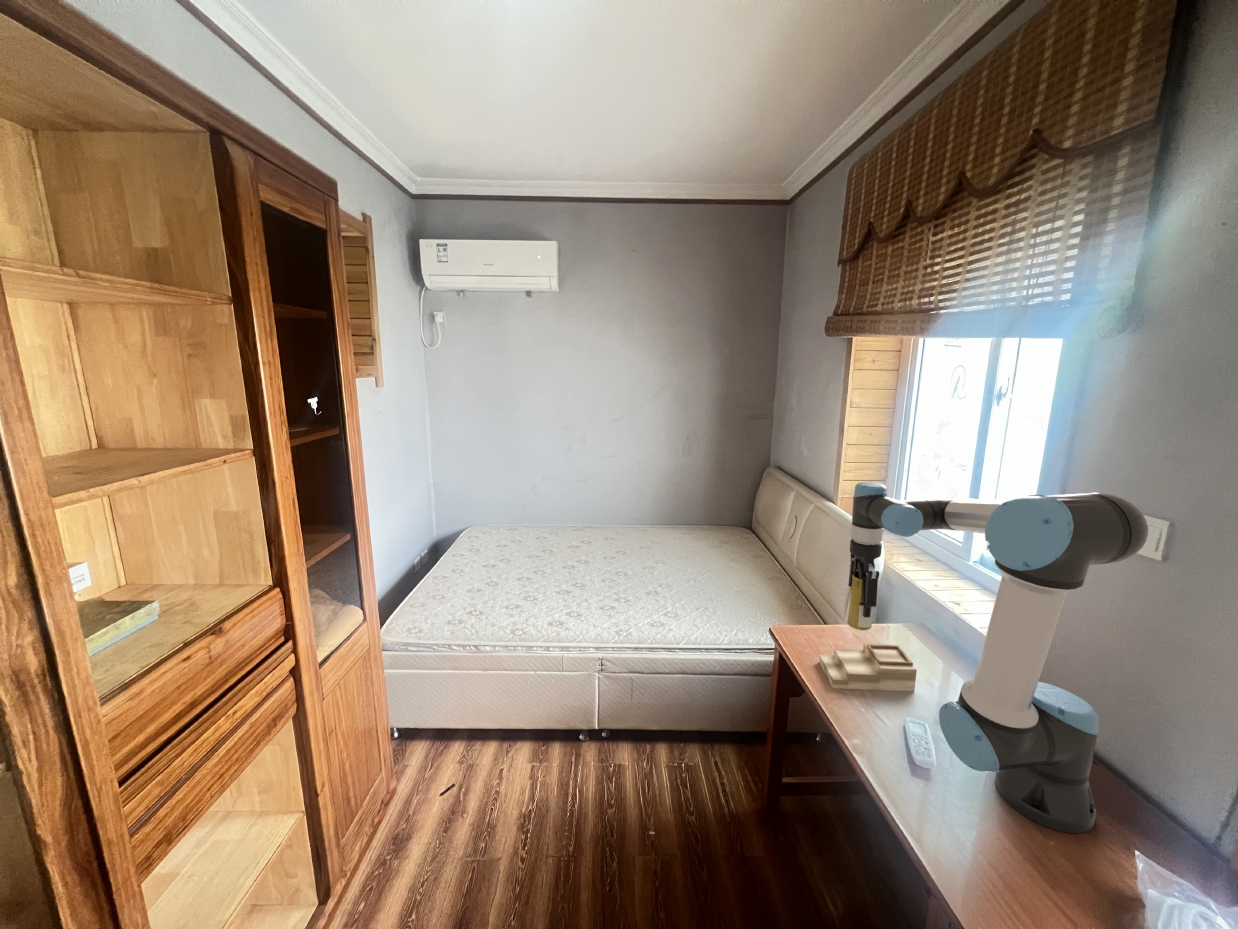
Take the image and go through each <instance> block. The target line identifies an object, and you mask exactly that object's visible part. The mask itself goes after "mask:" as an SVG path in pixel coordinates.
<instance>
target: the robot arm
mask: <svg viewBox="0 0 1238 929" xmlns="http://www.w3.org/2000/svg"><path fill="white" fill-rule="evenodd" d="M887 491H888V489H887V486H886V485H885V484H883V483H880V482H874V481H862V482H858V483H857V484H855V487H854V492H853V494H854V495H853V497H852V499H853V500H852V515H851V516H852V517H851V520H852V521H851V524H850V525H851V526H850V538H851V539H850V540H849V553H850V564H849V565H850V566H849V575H848V584H847V585H848V587H850V589H851V588H852V576H853V574H854V573H856V577H857V578H859V579H861V580H862V585H861V591H862V603H859V605H860V611H859V623H858V626H859V627H870V620H871V609H872V610H873V608H876V607H877V602H878V601H877V598H878V584H879V577H880V571H879V570H876V567H875V566H876V565H875V560H876V559H878V558H880V557H881V555H882V547H883V546H882V545H883V543H882V541H883V534H884V532H885V530H886V531H888V532H889V533H890V534H894V535H897V536H900V537H903V538H909V537H912V536H914V535H915V534H918V533H919V532H920V531H928V530H929V531H930V530H948V531H956V532H957V531H959V532H968V533H977V534H984V537H985V538H984V539H985V541H986V542H988V545H987V550H988V551H989V553H990V555H991V556H992V557H993V558H994V565H995V566H996V568H997V570H999V572H1000V573H1001V575H1002V576H1001V578H1000V582H999V587H998V588H997V589H998V590H997V594H996V598H995V601H994V606H993V607H992V608H993V609H992V612H991V617H990V620H989V624H988V626H987V631H986V634H985V637H984V642H983V645H982V649H981V652H980V655H979V656H980V657H979V660H978V664H977V668H976V672H975V675H974V678H973V679H968V680H966V681H965V682H963V683H962V686H961V689H960V691H959V695H958V699H957V700H956V701H948V702H947V703H943V704H942V705H941V706H940V708H939V712H938V719H939V726H940V730H941V733H942V734H943V737H944V739H945V741H946V743H947V745H948V746H949V748H950V749H951V750H950V751H951V752H953V753H954V755H955V756H956V757H957V758H958V759H959V761H960V762H961V763H963V764H964V765H965V766H966V767H968V768H969V769H972V770H974V771H977V772H992V773H995V776H994V783H995V784H994V785H995V787H996V789H997V791H998V793H999V794H1000V796H1001V797H1002V798H1003V799H1004V800H1005V802H1006V803H1007V804H1009V805H1010V806H1011V807H1012V808H1013V809H1015V810H1016V811H1017V812H1018V813H1020V814H1021V815H1023V816H1024V817H1026V818H1028V819H1030V820H1031V821H1033V822H1035V823H1036V824H1039V825H1041V826H1044V827H1047V828H1049V829H1051V830H1054V831H1058V832H1062V833H1067V834H1083V833H1087V832H1089V831H1090V830H1091V829H1092V828H1093V827H1094V825H1095V819H1096V815H1097V814H1096V813H1097V810H1096V805H1095V802H1094V798H1093V795H1092V791H1091V787H1090V783H1089V779H1090V773H1091V770H1092V763H1093V760H1094V759H1093V758H1094V754H1095V749H1096V743H1097V738H1098V735H1099V734H1100V730H1099V724H1100V723H1099V722H1100V718H1099V715H1098V713H1097V711H1096V710H1095V709H1094V707H1093V706H1092V705H1090V703H1089V702H1087V701H1086V700H1084V699H1082V698H1081V697H1079V696H1077V695H1076V694H1074V693H1072V692H1070V691H1068V690H1066V689H1064V688H1060V687H1058V686H1056V685H1053V684H1050V683H1046V682H1042V681H1040V677H1041V674H1042V671H1043V668H1044V666H1045V662H1046V659H1047V656H1048V653H1049V651H1050V647H1051V643H1052V641H1053V637H1054V635H1055V630H1056V628H1057V625H1058V622H1059V618H1060V615H1061V612H1062V609H1063V606H1064V602H1065V600H1066V596H1067V595H1068V593H1071V592H1074V591H1078V590H1080V589H1082V588H1083V586H1084V583H1085V580H1086V578H1087V577H1086V576H1087V574H1088V571H1089V568H1090V566H1095V565H1105V564H1113V563H1118V562H1121V561H1122V562H1123V561H1125V560H1126V559H1129V558H1131V557H1133V556H1135V555H1136V554H1138V553H1139V551H1140V550H1142V548H1144V547H1145V546H1144V545H1145V544H1146V542H1147V539H1148V535H1149V526H1148V525H1149V524H1148V522H1147V519H1146V517H1145V515H1144V514H1143V513H1142V511H1141V510H1140V509H1139V508H1138V507H1137V506H1135V504H1133V503H1131V502H1130V501H1128V500H1127V499H1124V498H1122V497H1119V496H1118V495H1113V494H1108V493H1102V492H1086V493H1071V494H1068V493H1067V494H1066V493H1065V494H1048V495H1046V494H1030V495H1025V496H1022V497H1021V496H1020V497H1015V498H1010V499H1008V500H1007V499H983V498H981V499H980V498H978V499H976V498H963V497H955V496H952V497H951V496H949V497H948V496H947V497H944V498H943V497H940V498H937V497H936V498H926V499H925V498H922V499H918V498H917V499H896V498H891V497H889V496H887V495H888V492H887ZM865 575H867V576H865Z"/></svg>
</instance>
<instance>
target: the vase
mask: <svg viewBox="0 0 1238 929" xmlns="http://www.w3.org/2000/svg"><path fill="white" fill-rule="evenodd" d="M865 576H867V575H865ZM861 585H862V580H861V579H859V578H857V577H856V573H854V574H853V576H852V588H851V587H850V599H849V606H848V614H847V621H846V623H847V625H848V626H849V627H851V628H852V629H855V630H859V631H868V630H871V629H872V627H873V626H872V625H873V624H872V620H873V618H872V617H873V608H872V609H871V620H870V627H859V626H858V623H859V611H860V605H859V603H862V591H861Z"/></svg>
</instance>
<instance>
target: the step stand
mask: <svg viewBox="0 0 1238 929" xmlns="http://www.w3.org/2000/svg"><path fill="white" fill-rule="evenodd" d="M818 662H819V664H820V667H821V668H822V670H823V672H824V675H825V676H826V678H827V680H828V682H829V684H830V686H831V688H832V689H841V690H842V689H845V690H866V691H867V690H869V691H887V692H888V691H890V692H910V693H913V692H914V693H915V688H916V679H917V668H916V667H915V666H914V663H913V661H912V659H910V658H909V657H908V655H907V654H906V653H905V651H903V649H902V648H901V646H899V645H897V644H883V643H882V644H880V643H863V646H862V649H845V648H842V649H841V648H834V652H833V654H819V661H818Z"/></svg>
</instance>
